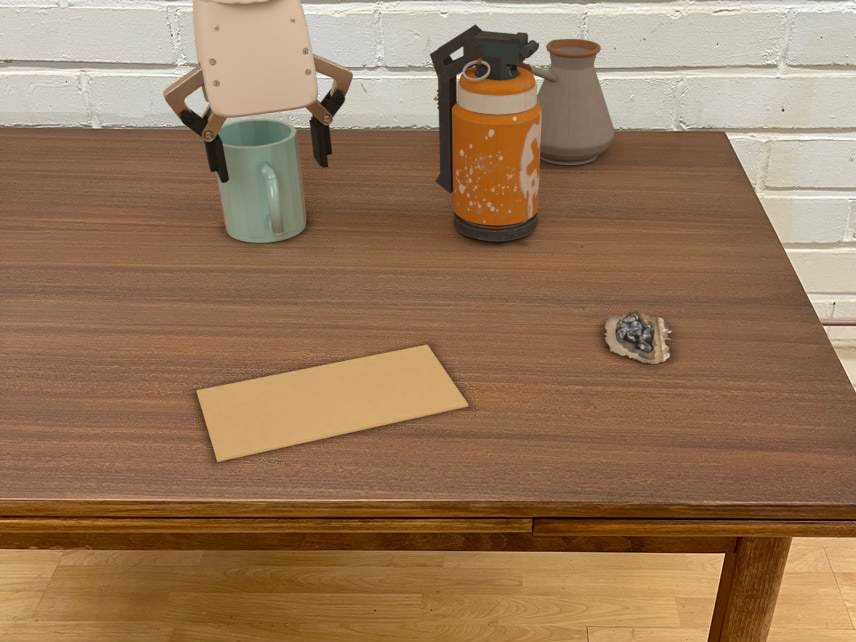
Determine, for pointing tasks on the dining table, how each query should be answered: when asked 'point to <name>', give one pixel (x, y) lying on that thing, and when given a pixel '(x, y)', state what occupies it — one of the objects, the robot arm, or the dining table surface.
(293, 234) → the teal coffee mug
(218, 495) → the dining table surface
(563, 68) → the coffee pot
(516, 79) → the canister
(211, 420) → the mat
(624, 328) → the mineral specimen
